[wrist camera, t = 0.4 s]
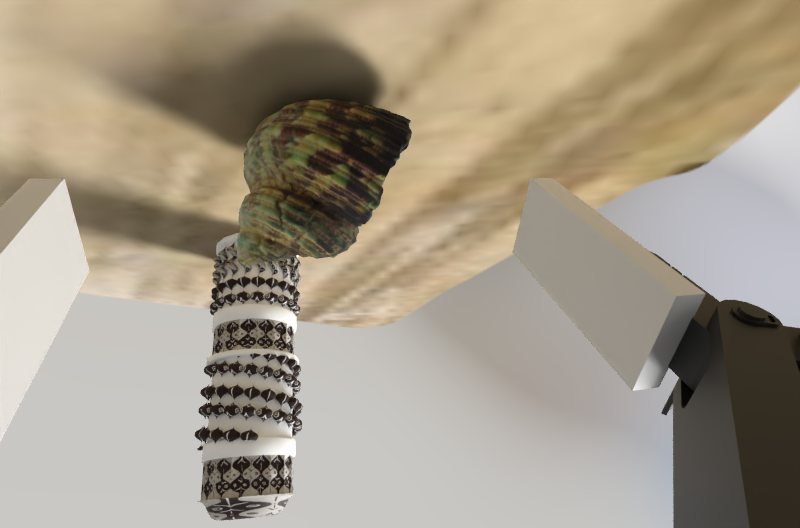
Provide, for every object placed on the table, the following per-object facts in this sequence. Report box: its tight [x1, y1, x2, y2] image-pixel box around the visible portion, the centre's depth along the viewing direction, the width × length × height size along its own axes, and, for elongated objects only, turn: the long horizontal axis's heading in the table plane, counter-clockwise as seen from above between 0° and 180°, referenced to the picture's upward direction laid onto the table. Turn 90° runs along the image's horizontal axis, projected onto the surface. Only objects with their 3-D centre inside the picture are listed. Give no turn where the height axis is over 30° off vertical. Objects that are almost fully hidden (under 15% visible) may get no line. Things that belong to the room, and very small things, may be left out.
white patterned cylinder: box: [195, 233, 302, 520], centre depth 46 cm, size 9×9×25 cm
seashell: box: [237, 99, 412, 264], centre depth 33 cm, size 11×11×10 cm
